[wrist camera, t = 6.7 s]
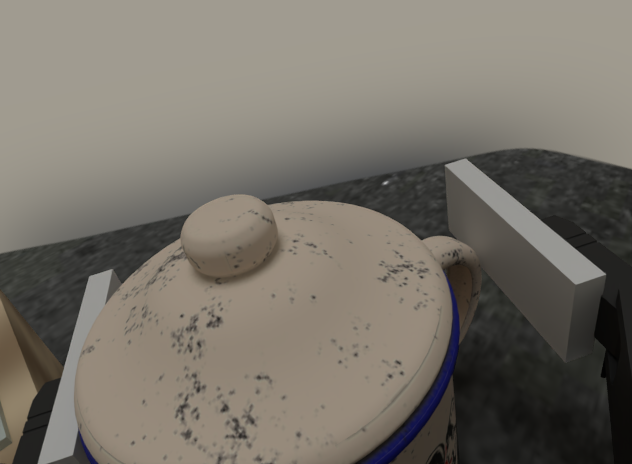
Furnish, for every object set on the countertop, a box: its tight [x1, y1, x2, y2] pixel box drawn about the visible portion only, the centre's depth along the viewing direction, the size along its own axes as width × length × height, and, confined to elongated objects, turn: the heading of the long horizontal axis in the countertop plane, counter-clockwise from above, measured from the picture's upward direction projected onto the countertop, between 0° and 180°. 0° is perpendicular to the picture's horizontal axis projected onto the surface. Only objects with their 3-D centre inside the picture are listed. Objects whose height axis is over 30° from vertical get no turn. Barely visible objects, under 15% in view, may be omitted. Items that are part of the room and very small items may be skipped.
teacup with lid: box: [74, 194, 481, 464], centre depth 14 cm, size 12×9×12 cm
